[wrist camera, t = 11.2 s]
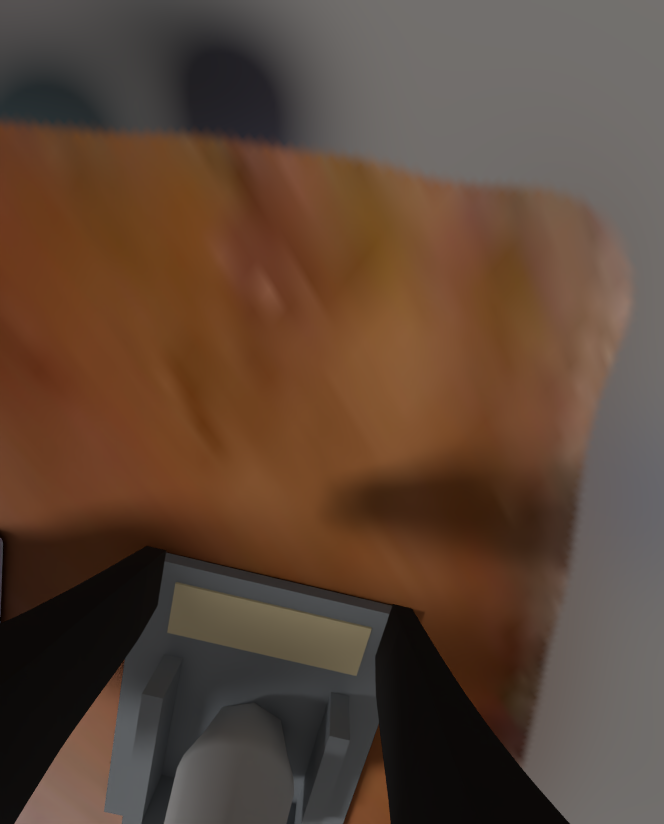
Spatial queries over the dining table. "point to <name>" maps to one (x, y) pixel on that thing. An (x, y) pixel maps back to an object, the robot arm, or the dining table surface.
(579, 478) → the dining table surface
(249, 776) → the salt shaker
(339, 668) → the stand
